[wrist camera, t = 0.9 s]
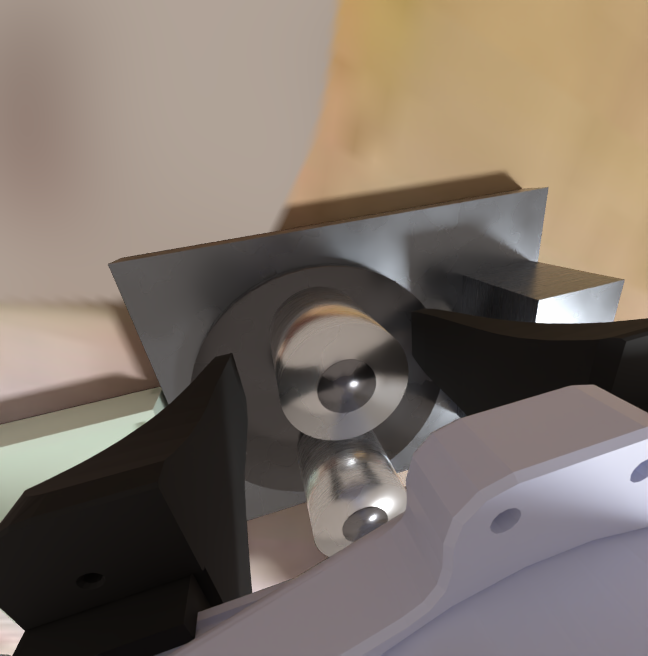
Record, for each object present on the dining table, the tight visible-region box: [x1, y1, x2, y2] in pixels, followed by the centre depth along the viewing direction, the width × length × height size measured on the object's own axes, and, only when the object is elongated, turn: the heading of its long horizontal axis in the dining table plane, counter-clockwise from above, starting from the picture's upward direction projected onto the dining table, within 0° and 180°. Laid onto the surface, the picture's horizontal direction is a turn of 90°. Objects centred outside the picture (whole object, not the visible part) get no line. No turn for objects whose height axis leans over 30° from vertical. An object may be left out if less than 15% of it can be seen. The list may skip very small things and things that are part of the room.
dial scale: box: [108, 187, 624, 521], centre depth 15 cm, size 16×20×6 cm
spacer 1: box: [269, 287, 409, 440], centre depth 12 cm, size 4×4×5 cm
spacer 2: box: [297, 430, 407, 557], centre depth 15 cm, size 4×4×5 cm
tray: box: [0, 387, 169, 623], centre depth 16 cm, size 11×11×2 cm
